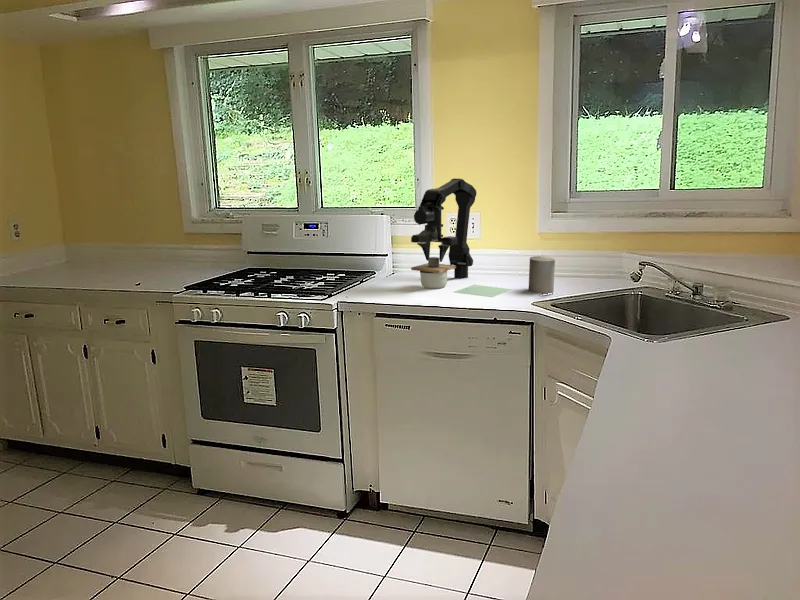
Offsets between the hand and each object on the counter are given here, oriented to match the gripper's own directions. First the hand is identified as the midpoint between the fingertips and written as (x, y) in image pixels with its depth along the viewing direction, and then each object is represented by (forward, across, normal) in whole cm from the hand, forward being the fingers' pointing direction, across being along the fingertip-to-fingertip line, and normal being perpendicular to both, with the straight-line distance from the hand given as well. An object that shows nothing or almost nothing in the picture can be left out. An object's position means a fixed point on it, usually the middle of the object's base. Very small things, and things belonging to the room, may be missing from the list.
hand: (434, 261), depth 275 cm
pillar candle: (+11, +40, +14) cm, 44 cm away
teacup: (+11, 0, 0) cm, 11 cm away
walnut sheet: (+3, 0, 0) cm, 3 cm away
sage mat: (+11, +21, +2) cm, 24 cm away
